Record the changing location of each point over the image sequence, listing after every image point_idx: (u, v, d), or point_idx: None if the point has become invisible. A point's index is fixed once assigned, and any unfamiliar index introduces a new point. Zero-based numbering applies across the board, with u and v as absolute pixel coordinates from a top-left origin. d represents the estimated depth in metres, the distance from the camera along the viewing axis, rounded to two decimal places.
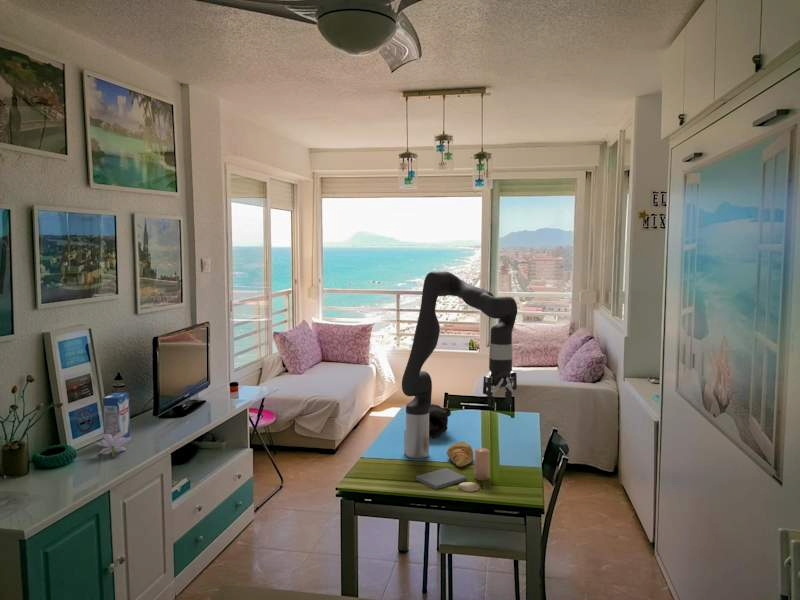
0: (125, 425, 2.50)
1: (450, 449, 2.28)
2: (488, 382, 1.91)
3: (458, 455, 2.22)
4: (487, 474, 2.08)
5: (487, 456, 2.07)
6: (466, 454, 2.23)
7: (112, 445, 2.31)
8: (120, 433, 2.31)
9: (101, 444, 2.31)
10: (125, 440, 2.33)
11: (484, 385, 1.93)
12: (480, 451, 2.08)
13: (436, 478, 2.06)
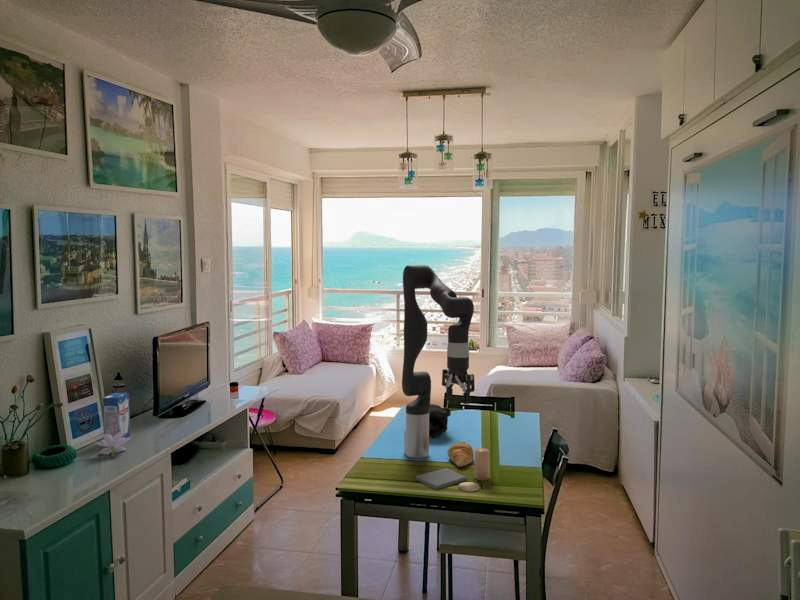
0: (125, 425, 2.50)
1: (450, 449, 2.28)
2: (473, 379, 1.99)
3: (458, 455, 2.22)
4: (487, 474, 2.08)
5: (487, 456, 2.07)
6: (466, 454, 2.23)
7: (112, 445, 2.31)
8: (120, 433, 2.31)
9: (101, 444, 2.31)
10: (125, 440, 2.33)
11: (470, 383, 1.98)
12: (480, 451, 2.08)
13: (436, 478, 2.06)
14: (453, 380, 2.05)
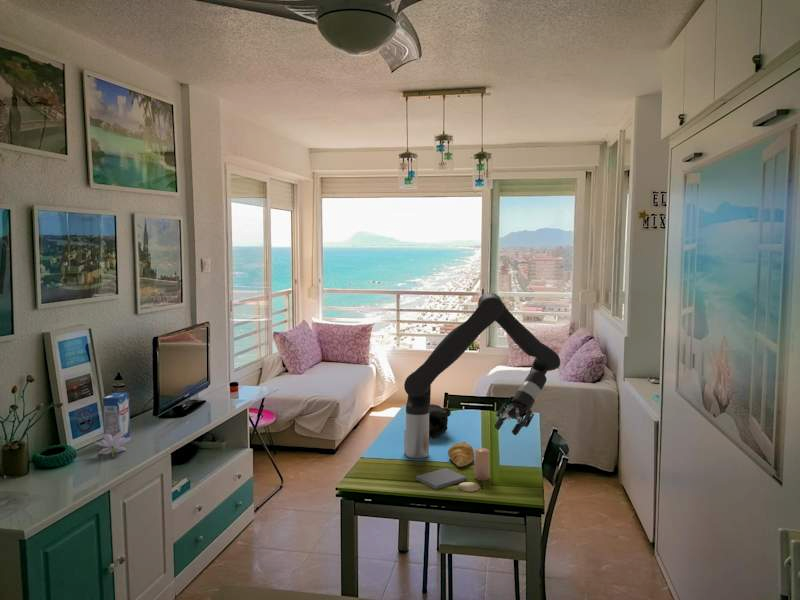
0: (125, 425, 2.50)
1: (451, 449, 2.28)
2: (531, 417, 2.13)
3: (458, 456, 2.22)
4: (487, 474, 2.08)
5: (487, 456, 2.07)
6: (466, 454, 2.23)
7: (112, 445, 2.31)
8: (120, 433, 2.31)
9: (101, 444, 2.31)
10: (125, 440, 2.33)
11: (528, 417, 2.12)
12: (480, 451, 2.08)
13: (436, 478, 2.06)
14: (511, 412, 2.18)
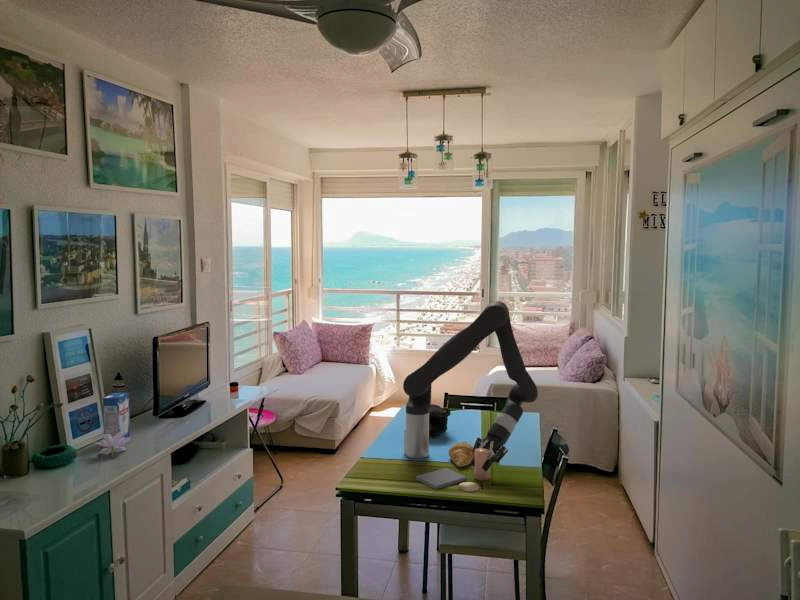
0: (125, 425, 2.50)
1: (451, 449, 2.28)
2: (504, 453, 2.07)
3: (459, 456, 2.22)
4: (487, 474, 2.08)
5: (487, 456, 2.07)
6: (467, 454, 2.23)
7: (112, 445, 2.31)
8: (120, 433, 2.31)
9: (101, 444, 2.31)
10: (125, 440, 2.33)
11: (500, 454, 2.06)
12: (480, 451, 2.08)
13: (436, 478, 2.06)
14: (487, 446, 2.11)
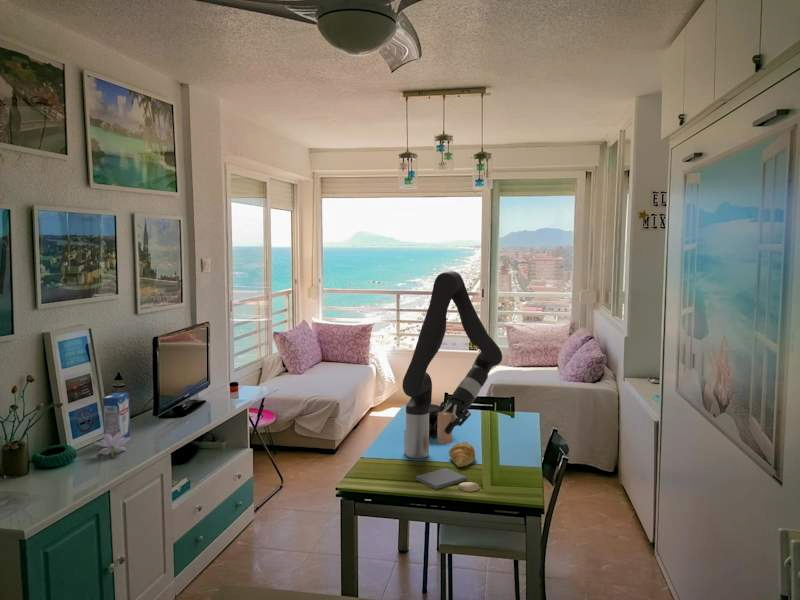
0: (125, 425, 2.50)
1: (452, 449, 2.28)
2: (467, 417, 2.04)
3: (459, 456, 2.22)
4: (450, 437, 2.05)
5: (450, 420, 2.05)
6: (467, 454, 2.23)
7: (112, 445, 2.31)
8: (120, 433, 2.31)
9: (101, 444, 2.31)
10: (125, 440, 2.33)
11: (463, 417, 2.03)
12: (443, 414, 2.05)
13: (436, 478, 2.06)
14: (450, 410, 2.09)
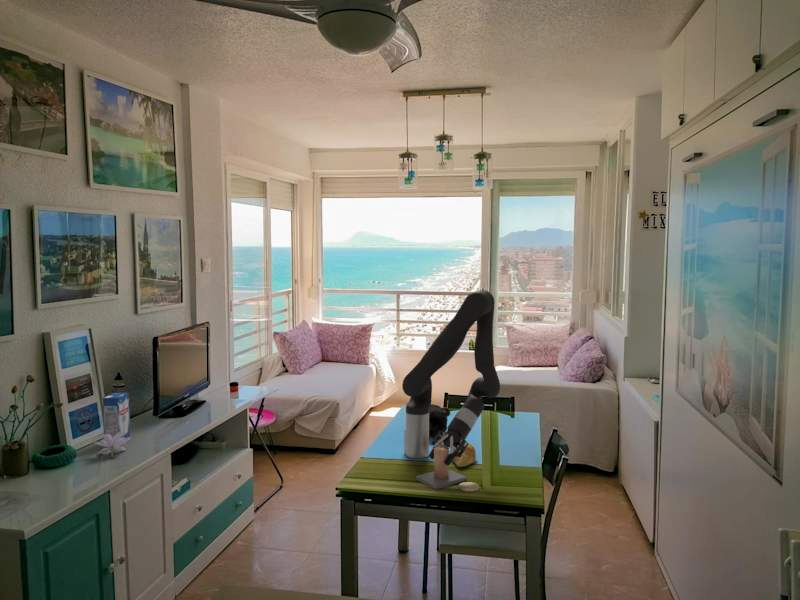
0: (125, 425, 2.50)
1: None
2: (465, 447, 2.04)
3: None
4: (446, 473, 2.06)
5: (446, 455, 2.05)
6: (467, 455, 2.23)
7: (111, 445, 2.31)
8: (119, 433, 2.31)
9: (100, 444, 2.31)
10: (124, 440, 2.33)
11: (461, 447, 2.03)
12: (439, 449, 2.06)
13: (436, 478, 2.06)
14: (446, 441, 2.09)
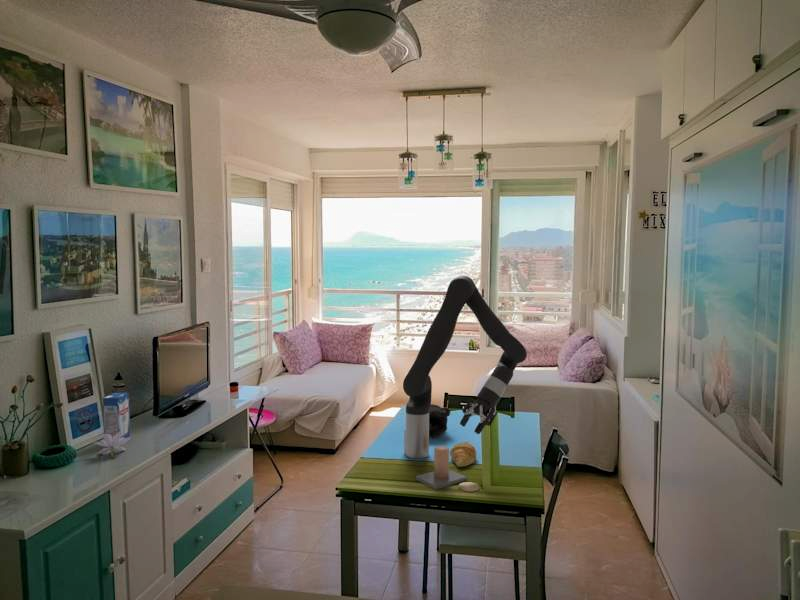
0: (125, 425, 2.50)
1: (453, 449, 2.28)
2: (495, 415, 2.09)
3: (459, 456, 2.22)
4: (446, 473, 2.06)
5: (446, 455, 2.05)
6: (467, 455, 2.23)
7: (111, 445, 2.31)
8: (119, 433, 2.31)
9: (100, 444, 2.31)
10: (124, 440, 2.33)
11: (491, 416, 2.08)
12: (439, 449, 2.06)
13: (436, 478, 2.06)
14: (475, 409, 2.15)
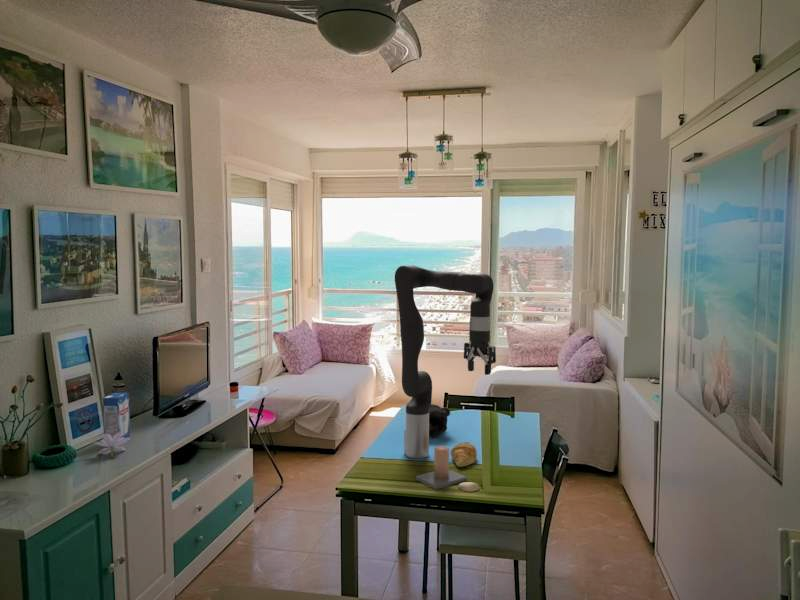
0: (125, 425, 2.50)
1: (453, 449, 2.28)
2: (494, 351, 2.11)
3: (459, 456, 2.22)
4: (446, 473, 2.06)
5: (446, 455, 2.05)
6: (467, 455, 2.22)
7: (111, 445, 2.31)
8: (119, 433, 2.31)
9: (100, 444, 2.31)
10: (124, 440, 2.33)
11: (492, 355, 2.10)
12: (439, 449, 2.06)
13: (436, 478, 2.06)
14: (475, 353, 2.16)
